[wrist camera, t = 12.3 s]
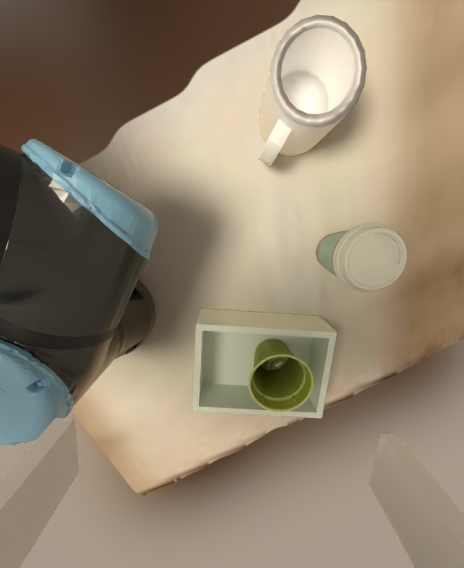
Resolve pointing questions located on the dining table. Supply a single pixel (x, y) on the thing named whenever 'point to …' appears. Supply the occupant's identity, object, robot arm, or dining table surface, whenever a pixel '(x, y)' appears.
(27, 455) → the robot arm
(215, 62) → the dining table surface
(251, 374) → the plant pot
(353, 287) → the coffee cup
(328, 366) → the box
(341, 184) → the dining table surface
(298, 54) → the mug
